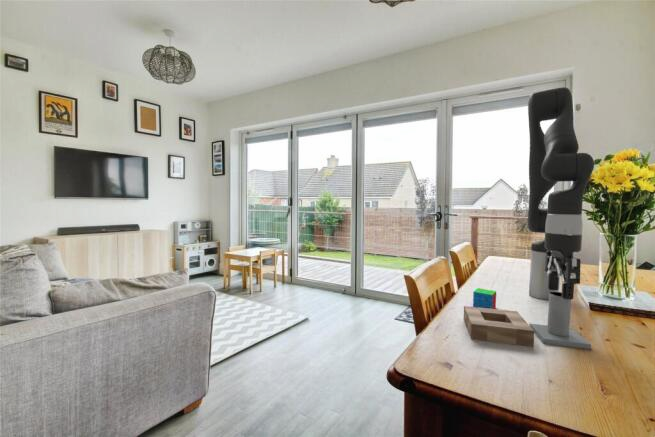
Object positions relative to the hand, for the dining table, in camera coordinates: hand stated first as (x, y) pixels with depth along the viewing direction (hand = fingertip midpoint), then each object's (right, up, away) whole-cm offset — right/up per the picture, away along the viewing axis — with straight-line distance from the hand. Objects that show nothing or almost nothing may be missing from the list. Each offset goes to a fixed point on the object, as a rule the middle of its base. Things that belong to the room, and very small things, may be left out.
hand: (559, 294), depth 79 cm
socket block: (-15, -11, +4) cm, 19 cm away
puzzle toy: (-8, -11, +23) cm, 26 cm away
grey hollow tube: (0, -11, +1) cm, 11 cm away
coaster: (0, -12, +1) cm, 12 cm away
